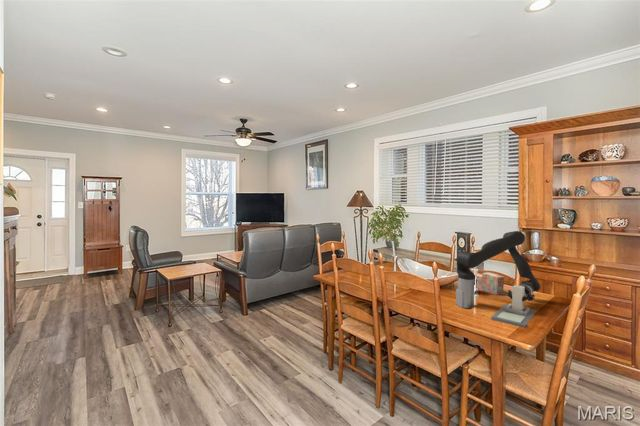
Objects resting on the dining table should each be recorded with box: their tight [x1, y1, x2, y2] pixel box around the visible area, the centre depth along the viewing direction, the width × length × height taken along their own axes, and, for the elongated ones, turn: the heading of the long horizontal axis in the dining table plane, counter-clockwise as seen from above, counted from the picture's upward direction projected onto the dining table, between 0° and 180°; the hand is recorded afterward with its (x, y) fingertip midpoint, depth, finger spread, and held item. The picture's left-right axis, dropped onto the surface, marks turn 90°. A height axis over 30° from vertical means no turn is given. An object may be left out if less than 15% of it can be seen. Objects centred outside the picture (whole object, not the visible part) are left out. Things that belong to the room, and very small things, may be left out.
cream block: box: [511, 284, 525, 311], centre depth 182 cm, size 5×5×14 cm
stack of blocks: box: [476, 272, 505, 296], centre depth 225 cm, size 21×6×12 cm, turn 23°
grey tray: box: [490, 303, 537, 329], centre depth 178 cm, size 28×16×3 cm, turn 136°
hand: (517, 298), depth 180 cm, fingers closed on cream block, 5 cm apart
